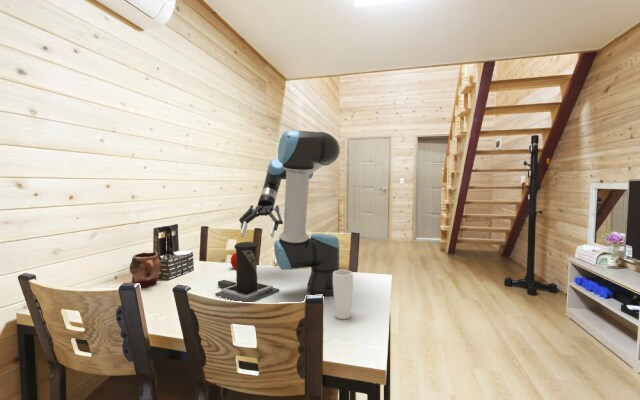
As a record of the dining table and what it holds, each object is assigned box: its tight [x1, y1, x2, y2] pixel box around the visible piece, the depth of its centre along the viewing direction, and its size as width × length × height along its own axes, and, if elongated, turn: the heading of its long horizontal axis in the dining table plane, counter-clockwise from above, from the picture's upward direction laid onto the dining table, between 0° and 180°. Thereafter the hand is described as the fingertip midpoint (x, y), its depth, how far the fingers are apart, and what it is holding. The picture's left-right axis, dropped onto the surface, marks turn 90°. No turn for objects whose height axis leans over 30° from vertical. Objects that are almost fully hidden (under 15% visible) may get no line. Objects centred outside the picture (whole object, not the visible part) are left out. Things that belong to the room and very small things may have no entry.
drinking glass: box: [333, 269, 354, 320], centre depth 107 cm, size 7×7×15 cm
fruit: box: [230, 252, 236, 270], centre depth 171 cm, size 9×9×10 cm
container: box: [234, 241, 258, 294], centre depth 131 cm, size 9×9×20 cm
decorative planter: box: [129, 252, 162, 289], centre depth 143 cm, size 20×12×14 cm, turn 50°
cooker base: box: [214, 279, 280, 303], centre depth 133 cm, size 26×18×2 cm
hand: (256, 235), depth 141 cm, fingers open, 13 cm apart
